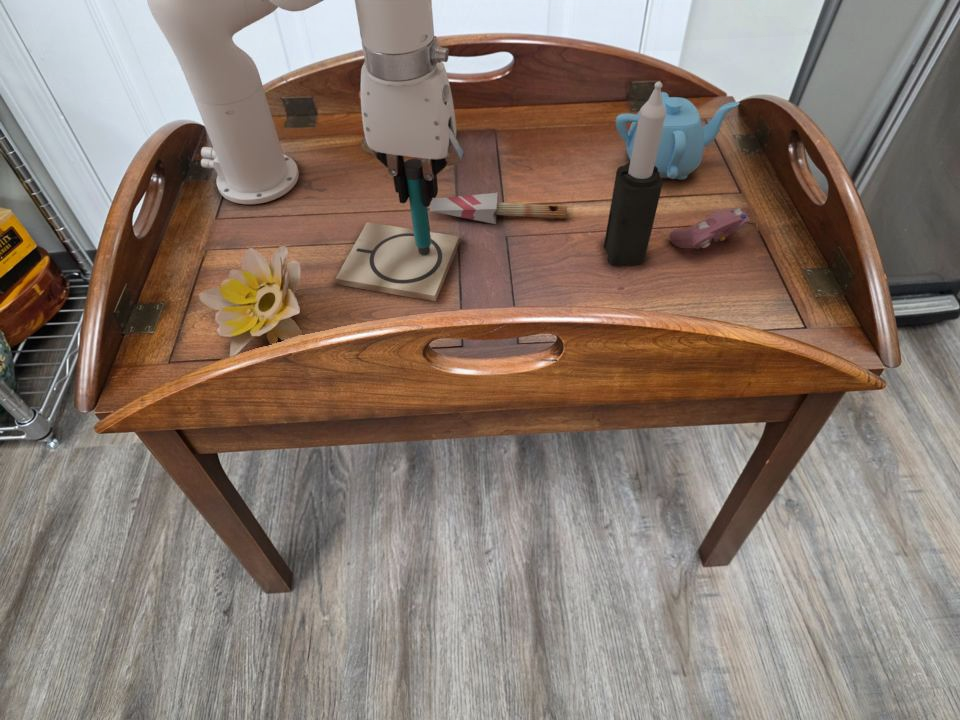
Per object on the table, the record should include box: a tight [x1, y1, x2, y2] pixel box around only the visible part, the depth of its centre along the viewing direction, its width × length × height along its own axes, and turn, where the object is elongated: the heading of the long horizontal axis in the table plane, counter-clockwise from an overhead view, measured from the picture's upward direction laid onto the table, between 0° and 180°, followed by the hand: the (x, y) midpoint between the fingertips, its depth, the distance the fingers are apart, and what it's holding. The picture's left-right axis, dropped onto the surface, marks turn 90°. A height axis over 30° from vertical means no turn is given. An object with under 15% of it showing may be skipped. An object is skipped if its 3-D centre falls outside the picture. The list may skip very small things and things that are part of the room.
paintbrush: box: [429, 192, 568, 225], centre depth 95 cm, size 4×3×20 cm
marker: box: [404, 158, 431, 255], centre depth 84 cm, size 2×2×14 cm
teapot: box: [615, 91, 740, 180], centre depth 99 cm, size 13×14×11 cm
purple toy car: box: [669, 207, 751, 250], centre depth 89 cm, size 10×5×7 cm, turn 117°
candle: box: [603, 81, 666, 267], centre depth 81 cm, size 5×5×25 cm
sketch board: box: [335, 221, 461, 302], centre depth 90 cm, size 14×12×1 cm
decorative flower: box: [198, 245, 303, 358], centre depth 80 cm, size 15×11×10 cm
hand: (417, 197), depth 82 cm, fingers closed on marker, 2 cm apart
